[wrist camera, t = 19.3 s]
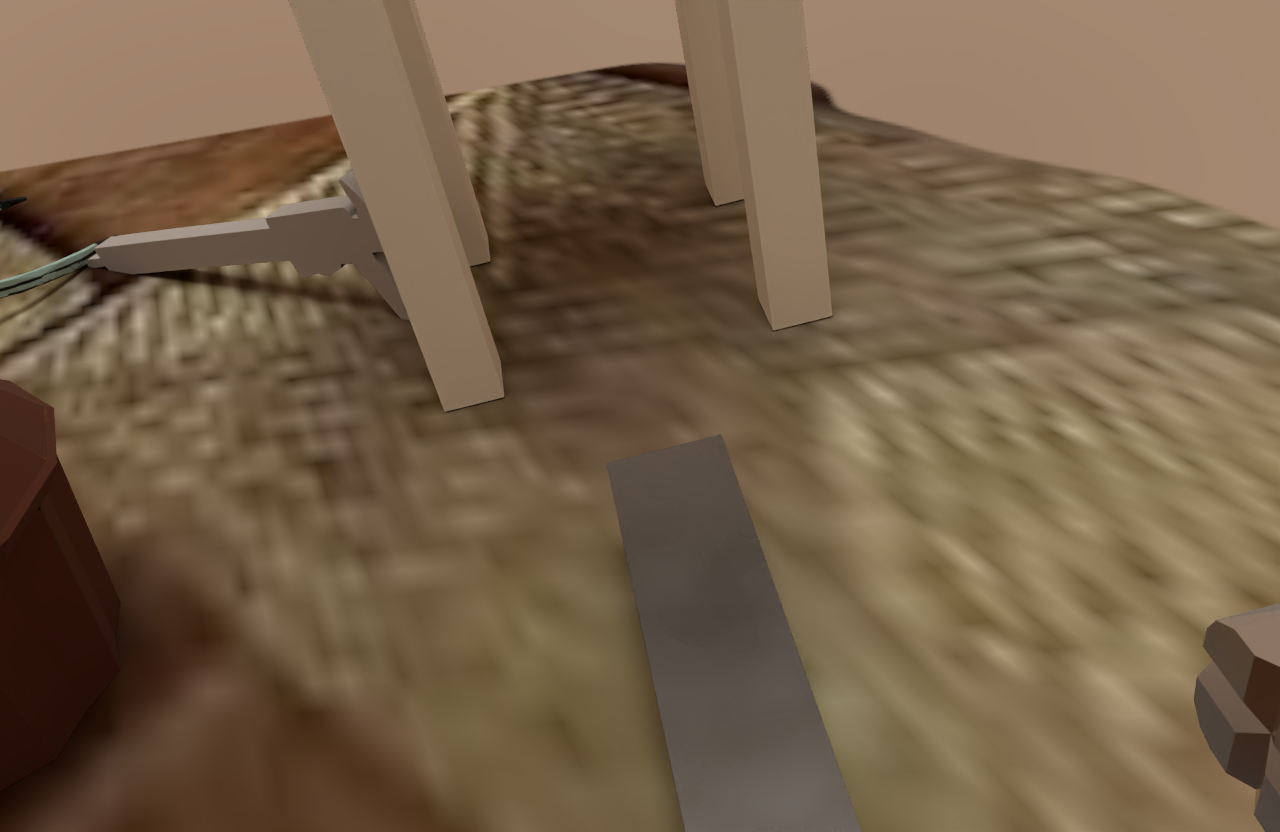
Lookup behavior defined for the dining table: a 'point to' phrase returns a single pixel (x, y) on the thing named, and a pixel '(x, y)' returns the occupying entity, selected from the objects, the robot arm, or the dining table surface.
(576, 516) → the dining table surface
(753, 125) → the pin stand
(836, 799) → the pin
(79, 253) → the sunglasses
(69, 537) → the muffin
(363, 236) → the caliper
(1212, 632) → the robot arm
